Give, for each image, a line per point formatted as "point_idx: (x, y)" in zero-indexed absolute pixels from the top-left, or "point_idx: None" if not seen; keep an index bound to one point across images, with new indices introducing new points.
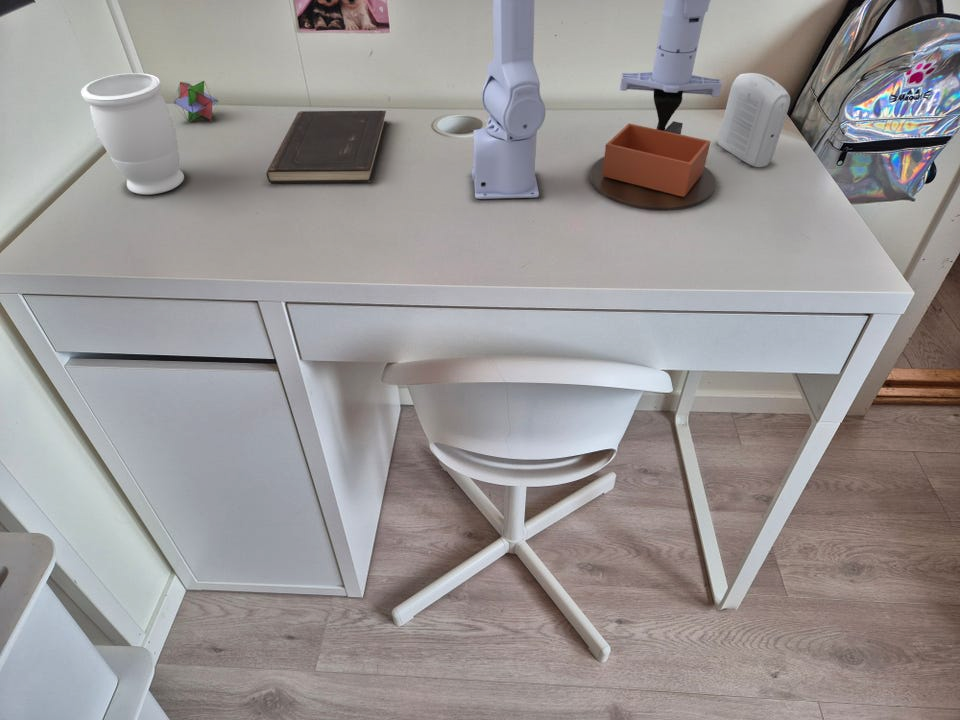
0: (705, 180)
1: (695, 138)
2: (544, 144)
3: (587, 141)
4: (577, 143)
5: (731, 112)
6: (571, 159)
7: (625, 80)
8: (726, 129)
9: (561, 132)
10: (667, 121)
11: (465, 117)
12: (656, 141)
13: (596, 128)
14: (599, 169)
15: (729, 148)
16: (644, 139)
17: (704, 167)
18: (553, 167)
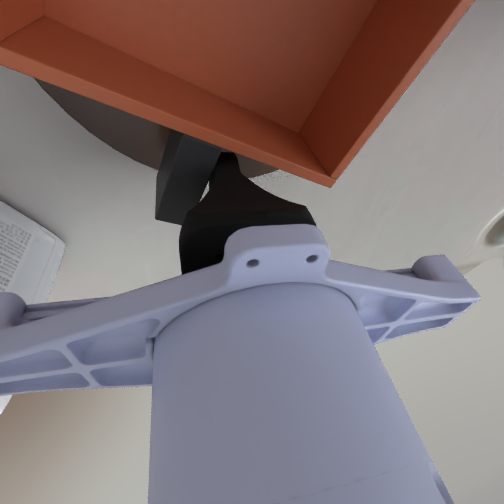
0: None
1: (72, 83)
2: (435, 178)
3: (347, 205)
4: (370, 193)
5: None
6: (417, 114)
7: (460, 288)
8: (31, 262)
9: (381, 228)
10: (217, 179)
11: (499, 242)
12: (236, 124)
13: None
14: None
15: (15, 216)
16: (273, 139)
17: (50, 89)
18: (484, 56)
